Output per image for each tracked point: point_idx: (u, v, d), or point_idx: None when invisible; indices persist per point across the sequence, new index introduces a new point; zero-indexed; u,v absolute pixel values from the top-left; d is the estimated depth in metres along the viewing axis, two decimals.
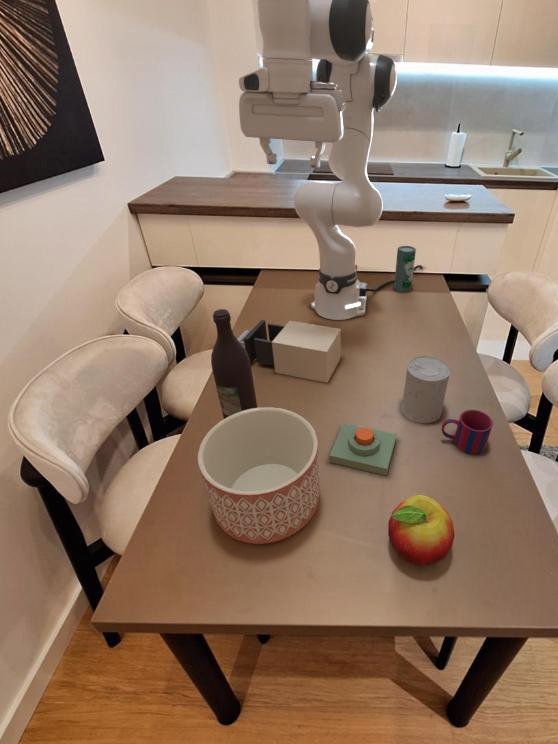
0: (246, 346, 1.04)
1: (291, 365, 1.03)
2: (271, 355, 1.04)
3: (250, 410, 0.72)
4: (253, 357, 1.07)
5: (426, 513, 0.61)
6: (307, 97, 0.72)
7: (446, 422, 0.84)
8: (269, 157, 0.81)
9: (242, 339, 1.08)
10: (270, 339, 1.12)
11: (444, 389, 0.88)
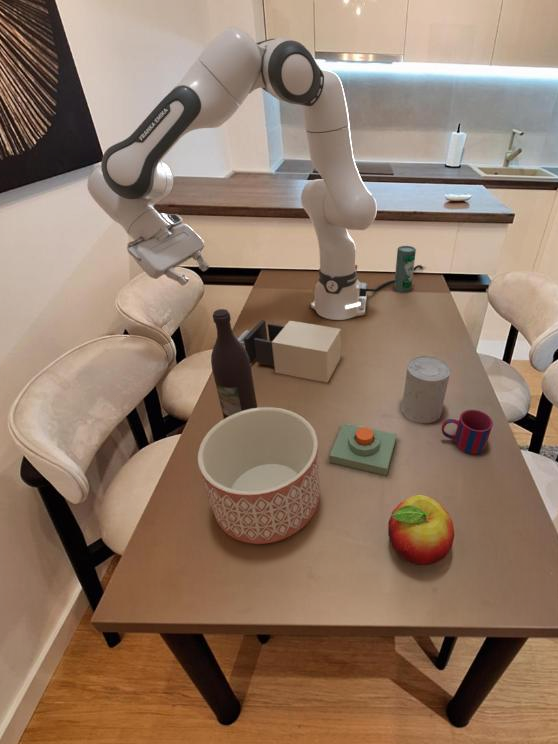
0: (246, 346, 1.04)
1: (291, 365, 1.03)
2: (271, 355, 1.04)
3: (250, 410, 0.72)
4: (253, 357, 1.07)
5: (426, 513, 0.61)
6: None
7: (446, 422, 0.84)
8: None
9: (242, 339, 1.08)
10: (270, 339, 1.12)
11: (444, 389, 0.88)
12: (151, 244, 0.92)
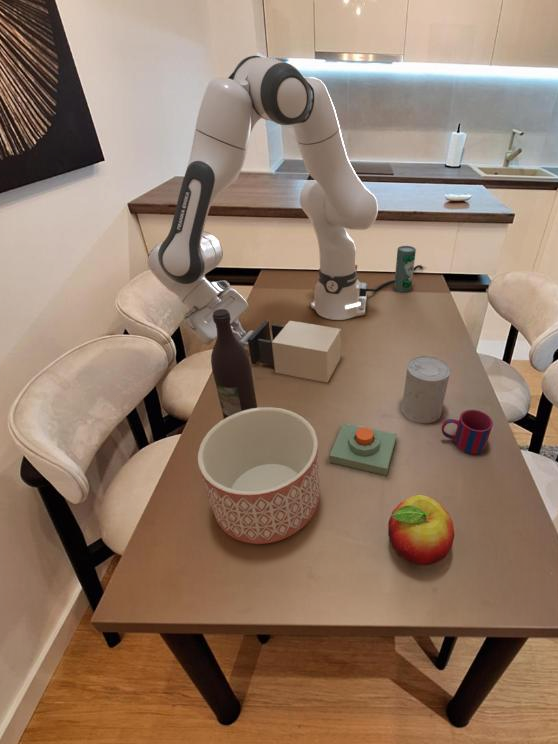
0: (250, 347, 1.03)
1: (291, 365, 1.03)
2: None
3: (250, 410, 0.72)
4: (257, 358, 1.07)
5: (426, 513, 0.61)
6: None
7: (446, 422, 0.84)
8: None
9: (246, 340, 1.08)
10: None
11: (444, 389, 0.88)
12: (204, 313, 1.01)
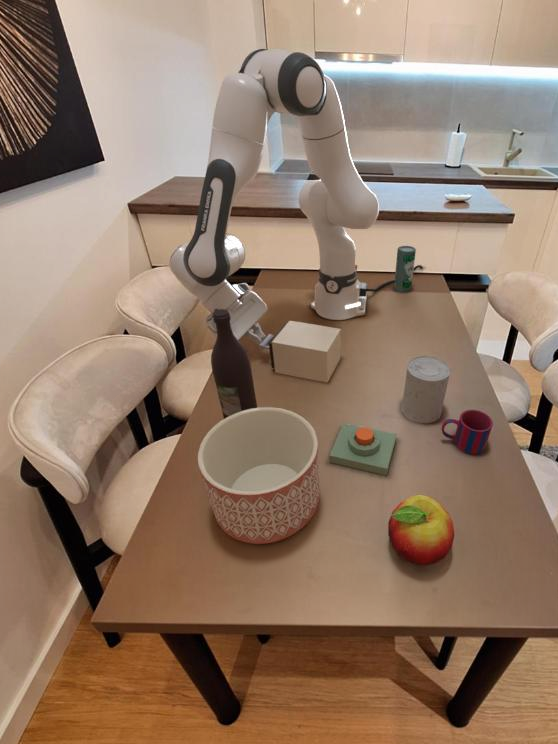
0: (271, 351, 1.02)
1: (291, 365, 1.03)
2: None
3: (250, 410, 0.72)
4: None
5: (426, 513, 0.61)
6: None
7: (446, 422, 0.84)
8: None
9: (266, 343, 1.06)
10: None
11: (444, 389, 0.88)
12: None
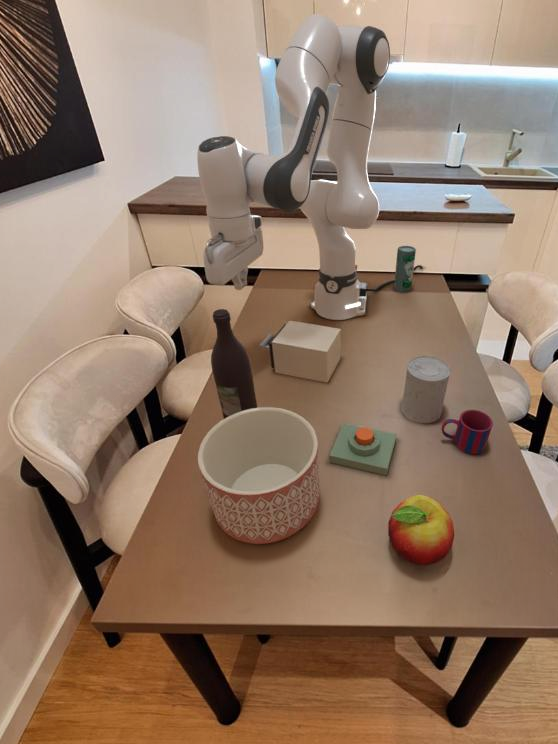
0: (271, 351, 1.02)
1: (291, 365, 1.03)
2: None
3: (250, 410, 0.72)
4: None
5: (426, 513, 0.61)
6: None
7: (446, 422, 0.84)
8: None
9: (266, 343, 1.06)
10: None
11: (444, 389, 0.88)
12: (228, 250, 0.83)
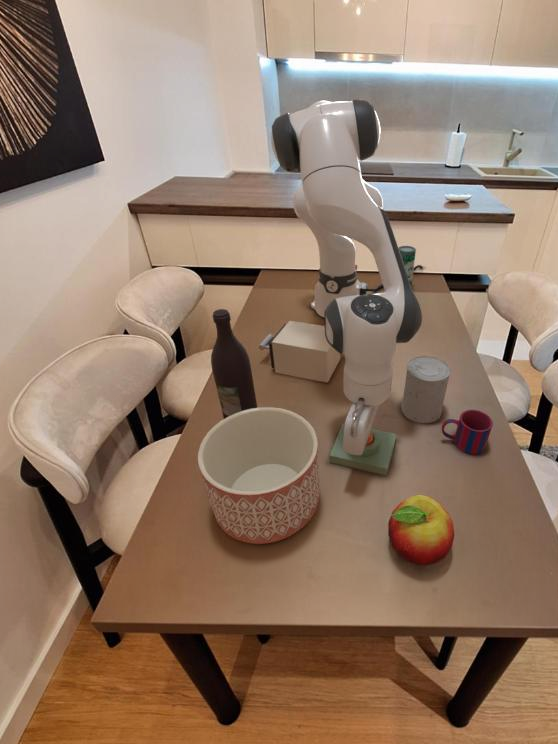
0: (271, 351, 1.02)
1: (291, 365, 1.03)
2: None
3: (250, 410, 0.72)
4: None
5: (426, 513, 0.61)
6: None
7: (446, 422, 0.84)
8: None
9: (266, 343, 1.06)
10: None
11: (444, 389, 0.88)
12: (369, 416, 0.71)
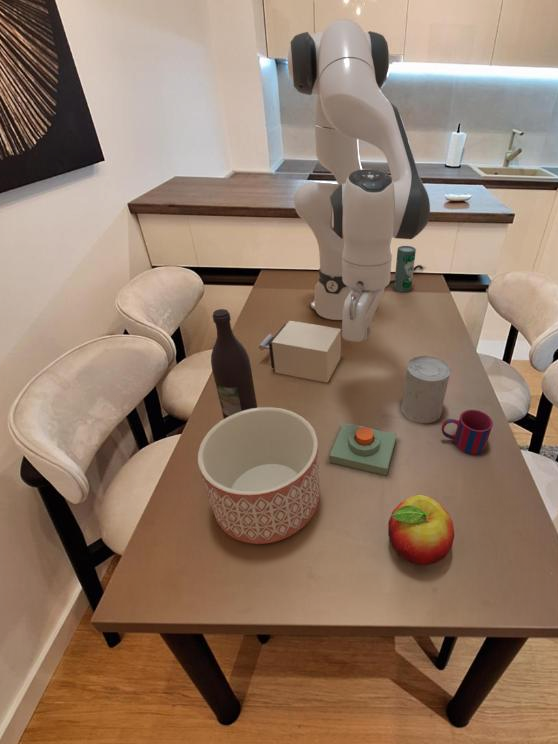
0: (271, 351, 1.02)
1: (291, 365, 1.03)
2: None
3: (250, 410, 0.72)
4: None
5: (426, 513, 0.61)
6: None
7: (446, 422, 0.84)
8: None
9: (266, 343, 1.06)
10: None
11: (444, 389, 0.88)
12: (368, 301, 0.70)
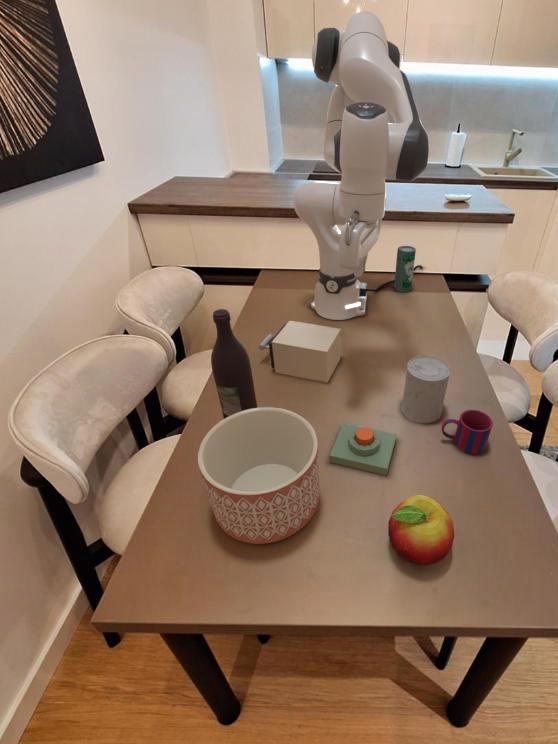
0: (271, 351, 1.02)
1: (291, 365, 1.03)
2: None
3: (250, 410, 0.72)
4: None
5: (426, 513, 0.61)
6: None
7: (446, 422, 0.84)
8: None
9: (266, 343, 1.06)
10: None
11: (444, 389, 0.88)
12: (363, 231, 0.75)
